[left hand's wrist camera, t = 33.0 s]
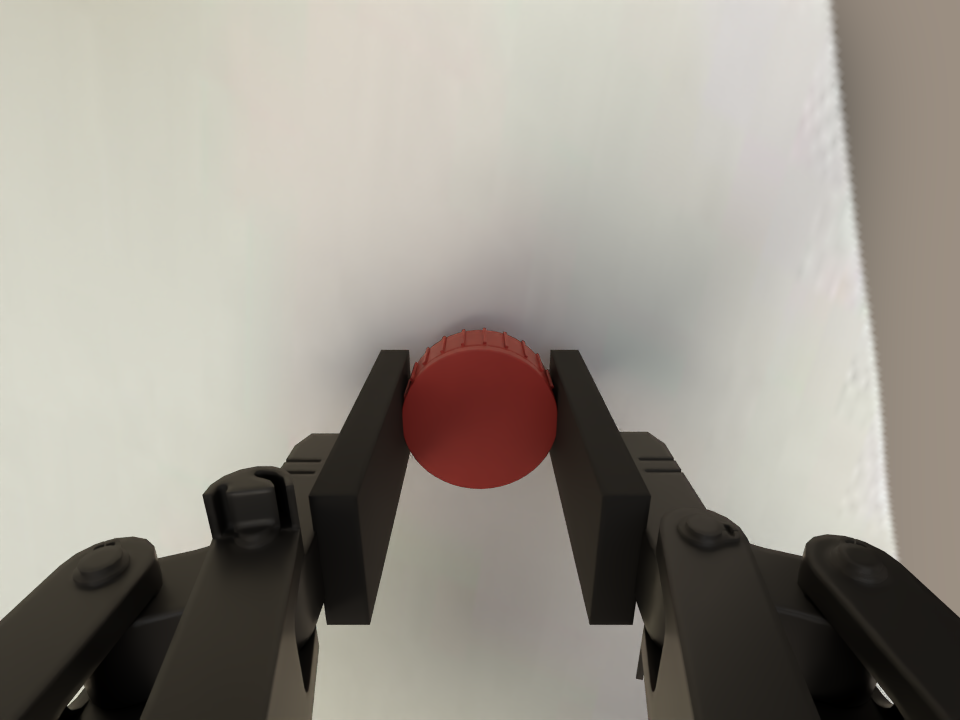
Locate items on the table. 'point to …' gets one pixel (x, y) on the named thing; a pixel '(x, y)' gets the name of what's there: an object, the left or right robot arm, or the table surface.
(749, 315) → the table surface
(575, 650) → the table surface
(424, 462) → the cap
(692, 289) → the table surface
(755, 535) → the table surface
